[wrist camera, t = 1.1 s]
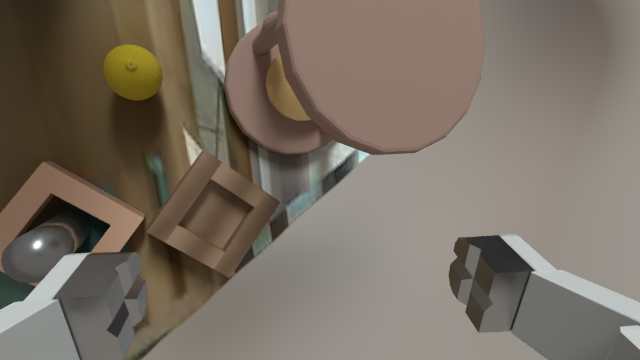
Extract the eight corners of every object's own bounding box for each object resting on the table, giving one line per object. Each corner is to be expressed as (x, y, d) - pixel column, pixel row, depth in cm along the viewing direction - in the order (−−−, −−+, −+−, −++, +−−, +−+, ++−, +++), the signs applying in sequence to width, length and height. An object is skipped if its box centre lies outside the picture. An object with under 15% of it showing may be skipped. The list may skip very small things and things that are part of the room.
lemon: (165, 103, 43) (166, 92, 35) (113, 105, 41) (102, 95, 33) (159, 56, 42) (158, 35, 35) (105, 55, 40) (92, 33, 33)
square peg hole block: (147, 225, 43) (146, 232, 39) (201, 151, 45) (205, 150, 41) (224, 268, 47) (229, 278, 43) (271, 198, 49) (280, 202, 45)
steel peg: (38, 236, 39) (-12, 268, 28) (62, 205, 39) (23, 225, 28) (74, 254, 40) (41, 291, 29) (97, 223, 41) (73, 249, 30)
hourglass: (364, 117, 54) (512, 89, 31) (268, 178, 48) (361, 200, 26) (309, 3, 49) (435, -128, 26) (195, 57, 44) (231, -48, 21)
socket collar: (-21, 248, 37) (-35, 255, 34) (51, 160, 39) (42, 161, 36) (85, 295, 41) (79, 305, 38) (145, 214, 43) (143, 218, 40)
